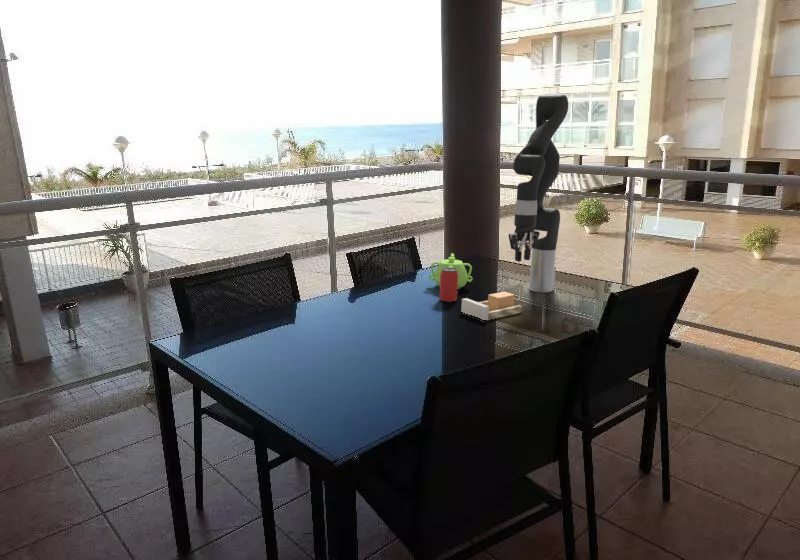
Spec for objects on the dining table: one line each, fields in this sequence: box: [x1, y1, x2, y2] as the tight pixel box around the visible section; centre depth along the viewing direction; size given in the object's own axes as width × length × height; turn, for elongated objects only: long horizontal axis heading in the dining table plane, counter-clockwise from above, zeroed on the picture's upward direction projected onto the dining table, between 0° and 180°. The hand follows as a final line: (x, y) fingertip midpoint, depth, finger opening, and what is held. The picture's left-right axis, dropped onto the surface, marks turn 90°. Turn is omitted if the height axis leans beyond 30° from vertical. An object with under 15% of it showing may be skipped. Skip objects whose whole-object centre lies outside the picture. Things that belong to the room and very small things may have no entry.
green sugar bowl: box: [429, 252, 473, 289], centre depth 235 cm, size 16×14×13 cm
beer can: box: [439, 268, 458, 303], centre depth 217 cm, size 7×7×12 cm
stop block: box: [460, 297, 490, 321], centre depth 199 cm, size 2×11×5 cm, turn 35°
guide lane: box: [478, 299, 523, 321], centre depth 204 cm, size 16×11×2 cm
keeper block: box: [487, 290, 515, 312], centre depth 206 cm, size 8×5×6 cm, turn 125°
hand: (522, 260), depth 208 cm, fingers open, 3 cm apart
